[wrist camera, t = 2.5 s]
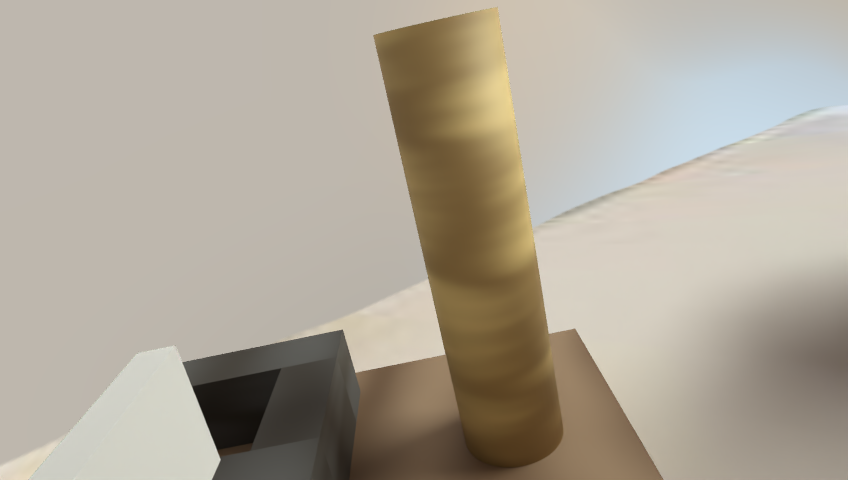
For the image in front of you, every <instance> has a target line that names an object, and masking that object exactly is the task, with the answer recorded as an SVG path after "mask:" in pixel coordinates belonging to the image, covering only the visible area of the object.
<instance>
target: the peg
mask: <svg viewBox="0 0 848 480" xmlns="http://www.w3.org/2000/svg"><path fill="white" fill-rule="evenodd" d="M374 39H375V44H376V49H377V53H378V57H379V62H380V66H381V71H382V75H383V80H384V84H385V88H386V93H387V97H388V102H389V106H390V111H391V115H392V120H393V124H394V128H395V133H396V137H397V142H398V146H399V150H400V155H401V159H402V164H403V167H404V173H405V177H406V181H407V186H408V190H409V195H410V199H411V203H412V208H413V212H414V217H415V221H416V225H417V230H418V234H419V239H420V243H421V247H422V251H423V256H424V261H425V265H426V270H427V274H428V278H429V283H430V287H431V292H432V296H433V301H434V305H435V309H436V314H437V318H438V323H439V327H440V331H441V336H442V340H443V345H444V349H445V354H446V358H447V362H448V367H449V371H450V376H451V380H452V384H453V389H454V393H455V398H456V402H457V407H458V411H459V415H460V420H461V424H462V429H463V433H464V437H465V442H466V446H467V448H468V450H469V451H470V453H471V454H472V455H473V456H474V457H476V458H477V459H478V460H480V461H482V462H484V463H486V464H489V465H493V466H497V467H508V468H510V467H521V466H526V465H530V464H533V463H536V462H538V461H540V460H542V459H544V458H546V457H547V456H549V455H550V454H551V453H552V452H553V451H554V450H555V449H556V448H557V447H558V446H559V444H560V442H561V440H562V437H563V432H564V430H563V422H562V416H561V410H560V403H559V397H558V390H557V384H556V378H555V371H554V365H553V358H552V352H551V346H550V339H549V333H548V326H547V320H546V314H545V307H544V301H543V295H542V288H541V282H540V275H539V269H538V263H537V256H536V250H535V243H534V237H533V231H532V224H531V218H530V211H529V205H528V199H527V193H526V186H525V180H524V173H523V167H522V160H521V154H520V148H519V141H518V135H517V128H516V122H515V116H514V109H513V103H512V97H511V90H510V84H509V77H508V71H507V64H506V58H505V52H504V46H503V39H502V33H501V26H500V20H499V14H498V8H490V9H485V10H480V11H475V12H471V13H466V14H462V15H457V16H452V17H448V18H443V19H439V20H434V21H430V22H425V23H421V24H417V25H412V26H408V27H404V28H400V29H395V30H391V31H387V32H384V33H380V34H376V35H374Z"/></svg>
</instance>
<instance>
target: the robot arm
mask: <svg viewBox="0 0 848 480" xmlns="http://www.w3.org/2000/svg"><path fill="white" fill-rule="evenodd" d="M220 460H221V459H220V457H219V454H218V452H217V449H216V447H215V444H214V442H213V439H212V437H211V434H210V431H209V429H208V426H207V424H206V421H205V419H204V416H203V414H202V411H201V409H200V406H199V404H198V401H197V398H196V396H195V393H194V391H193V388H192V386H191V383H190V381H189V378H188V376H187V373H186V370H185V368H184V365H183V363H182V360H181V358H180V355H179V353H178V350H177V348H176V346H170V347H165V348H160V349H155V350H150V351H145V352H140V353H137V354H136V355H135V356H134V358H133V359H132V360H131V361H130V362H129V363H128V365H127V366H126V367H125V368H124V369H123V370H122V372H121V373H120V374H119V375H118V376H117V377H116V379H115V380H114V381H113V382H112V383H111V384H110V385H109V387H108V388H107V389H106V390H105V391H104V392H103V394H102V395H101V396H100V397H99V398H98V399H97V400H96V402H95V403H94V404H93V405H92V406H91V407H90V409H89V410H88V411H87V412H86V413H85V414H84V416H83V417H82V418H81V419H80V420H79V421H78V423H77V424H76V425H75V426H74V427H73V428H72V429H71V431H70V432H69V433H68V434H67V435H66V436H65V438H64V439H63V440H62V441H61V442H60V443H59V445H58V446H57V447H56V448H55V449H54V450H53V451H52V453H51V454H50V455H49V456H48V457H47V458H46V460H45V461H44V462H43V463H42V464H41V465H40V467H39V468H38V469H37V470H36V471H35V472H34V474H33V475H32V476H31V477H30V478H29V479H28V480H212V478H213V476H214V474H215V471H216V469H217V467H218V465H219V462H220Z"/></svg>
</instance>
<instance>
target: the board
mask: <svg viewBox="0 0 848 480" xmlns="http://www.w3.org/2000/svg"><path fill="white" fill-rule="evenodd" d="M549 339H550V346H551V352H552V358H553V365H554V371H555V378H556V384H557V390H558V397H559V403H560V410H561V416H562V422H563V430H564V432H563V437H562V440H561V442H560V444H559V446H558V447H557V448H556V449H555V450H554V451H553V452H552V453H551V454H550V455H549V456H547V457H546V458H544V459H542V460H540V461H538V462H536V463H533V464H530V465H526V466H521V467H510V468H508V467H497V466H493V465H489V464H486V463H484V462H482V461H480V460H478V459H477V458H476V457H474V456H473V455H472V454H471V453H470V451H469V450H468V448H467V446H466V442H465V437H464V433H463V429H462V424H461V420H460V415H459V411H458V407H457V402H456V398H455V393H454V389H453V384H452V380H451V376H450V371H449V367H448V362H447V358H446V355H442V356H437V357H432V358H427V359H422V360H417V361H412V362H407V363H402V364H397V365H392V366H387V367H382V368H377V369H372V370H367V371H362V372H358V373H355V370H354V367H353V363H352V360H351V356H350V353H349V350H348V346H347V343H346V339H345V336H344V332H343V330H339V331H334V332H329V333H324V334H319V335H314V336H309V337H305V338H300V339H295V340H290V341H285V342H280V343H275V344H270V345H266V346H260V347H256V348H251V349H246V350H241V351H236V352H231V353H226V354H221V355H216V356H211V357H206V358H202V359H197V360H192V361H187V362H182V363H183V365H184V368H185V370H186V373H187V376H188V378H189V381H190V383H191V386H192V388H193V391H194V393H195V396H196V398H197V401H198V404H199V406H200V409H201V411H202V414H203V416H204V419H205V421H206V424H207V426H208V429H209V431H210V434H211V437H212V439H213V442H214V444H215V447H216V449H217V452H218V454H219V457H220V459H221V460H220V462H219V465H218V467H217V469H216V471H215V474H214V476H213V478H212V480H663V478H662V477H661V475H660V473H659V471H658V470H657V468H656V466H655V465H654V463H653V461H652V459H651V458H650V456H649V454H648V453H647V451H646V449H645V448H644V446H643V444H642V442H641V441H640V439H639V437H638V436H637V434H636V432H635V430H634V429H633V427H632V425H631V424H630V422H629V420H628V418H627V417H626V415H625V413H624V412H623V410H622V408H621V406H620V405H619V403H618V401H617V400H616V398H615V396H614V394H613V393H612V391H611V389H610V388H609V386H608V384H607V382H606V381H605V379H604V377H603V376H602V374H601V372H600V371H599V369H598V367H597V365H596V364H595V362H594V360H593V359H592V357H591V355H590V353H589V352H588V350H587V348H586V347H585V345H584V343H583V341H582V340H581V338H580V336H579V335H578V333H577V331H576V329H572V330H567V331H562V332H557V333H552V334H549Z"/></svg>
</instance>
